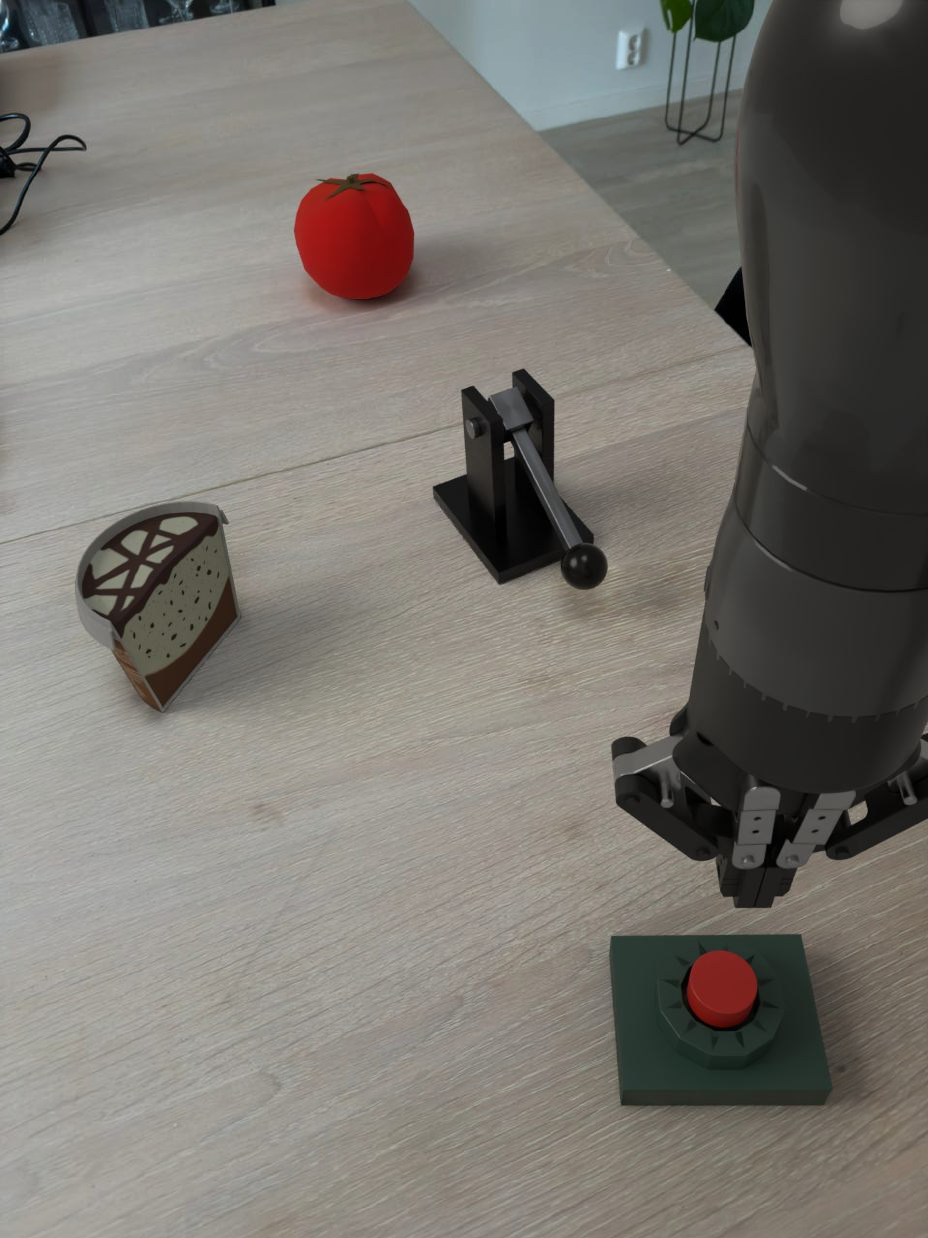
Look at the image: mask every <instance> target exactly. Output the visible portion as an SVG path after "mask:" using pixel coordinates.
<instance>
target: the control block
mask: <svg viewBox="0 0 928 1238" xmlns="http://www.w3.org/2000/svg"><path fill="white" fill-rule="evenodd" d="M802 937H803V936H802V934H801V933H779V934H778V933H773V934H770V933H769V934H765V933H764V934H763V933H762V934H674V935H673V934H670V935H667V934H665V935H663V934H661V935H660V934H659V935H657V934H655V935H653V934H652V935H649V934H648V935H611V936H610V942H609V953H608V956H609V957H608V958H609V969H610V982H611V983H610V984H611V994H612V1009H613V1022H614V1023H613V1024H614V1034H615V1035H614V1036H615V1048H616V1049H615V1050H616V1060H617V1061H616V1062H617V1076H618V1086H619V1099H620V1100H619V1101H620V1105H621V1106H824V1105H826V1103H827V1101H828V1099H829V1097H830V1096H831V1093H832V1091H833V1089H834V1088H833V1083H832V1079H831V1074H830V1069H829V1064H828V1059H827V1053H826V1049H825V1043H824V1041H823V1034H822V1029H821V1025H820V1019H819V1015H818V1014H819V1013H818V1009H817V1004H816V999H815V995H814V990H813V985H812V980H811V975H810V970H809V966H808V961H807V957H806V951H805V946H804V941H803V938H802ZM712 951H728V952H731V953H734V954H736V955H738V956H740V957H741V958H742V959H744V960H745V961H746V962H747V963H748V964H749V965H750V967H751V968H752V970H753V971H754V973H755V976H756V979H757V994H756V997H755V1000H754V1003H753V1006H752V1009H751V1012H750V1013H749V1015H748V1017H747V1018H746V1019H745V1020H744V1021H743V1022H741V1023H740V1024H738V1025H736V1026H733V1027H728V1028H720V1027H715V1026H712V1025H709V1024H707V1023H705V1022H704V1021H702V1020H701V1019H700V1018H699V1017H698V1016H697V1015H696V1014H695V1013H694V1012H693V1010H692V1009H691V1007H690V1005H689V1002H688V998H687V987H688V982H689V978H690V973H691V969H692V967H693V965H694V963H695V962H696V961H697V959H698V958H700V957H701V956H702V955H704V954H706V953H708V952H712Z"/></svg>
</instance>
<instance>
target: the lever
mask: <svg viewBox="0 0 928 1238" xmlns="http://www.w3.org/2000/svg"><path fill="white" fill-rule="evenodd" d="M486 400H487V401H488V402H489V403H490V405H491V406H492V407H493V408H494V409H495V410H496V411H497V412H498V413H499V415H500V416H501V417H502V418H503V431H504V444H506V443H510V444H511V446H512V448H513V451H514V450H515V452H516V454H517V456H518V458H519V460H520V462H521V464H522V466H523V468H524V470H525V472H526V474H527V476H528V478H529V480H530V482H531V484H532V486H533V488H534V490H535V492H536V494H537V496H538V498H539V500H540V502H541V504H542V506H543V508H544V510H545V512H546V514H547V516H548V518H549V520H550V521H551V523H552V525H553V527H554V529H555V531H556V533H557V535H558V537H559V539H560V541H561V543H562V545H563V547H564V549H565V551H566V552H565V553H564V555H563V557H562V559H561V560H560V574H561V576H562V578H563V580H564V581H565V582H566V584H567V585H569V587H572V588H574V589H575V590H579V591H589V590H592V589H594V588H597V587H598V586H600V585H601V584H602V582H604V580H605V579H606V576H607V574H608V570H609V564H608V563H609V562H608V559H607V556H606V554H605V552H604V551H603V550H602V549H601V548H600V547H598V546H597V545H595V544H594V545H593V544H590V543H583V541H582V539H581V537H580V535H579V533H578V531H577V529H576V527H575V525H574V523H573V521H572V519H571V518H570V516H569V514H568V512H567V510H566V508H565V506H564V504H563V502H562V500H561V498H562V497H561V495H560V494H559V491H558V489H557V488H556V486H555V483H554V484H553V482H552V480H551V478H550V476H549V474H548V472H547V470H546V468H545V466H544V464H543V462H542V460H541V458H540V456H539V454H538V452H537V450H536V448H535V446H534V445H533V443H532V441H531V439H530V437H529V435H528V431H529V429H530V427H531V425H532V423H533V421H534V419H533V417H532V415H531V413H530V411H529V409H528V407H527V405H526V403H525V401H524V399H523V397H522V395H521V393H520V391H519V389H518V388H517V386H516V387H513V388H512V387H511V388H508V389H505V390H502V391H500V392H496V393H493V394H491V395H489V396H488V398H487V399H486ZM560 497H561V498H560Z"/></svg>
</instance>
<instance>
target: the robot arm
mask: <svg viewBox="0 0 928 1238" xmlns="http://www.w3.org/2000/svg"><path fill="white" fill-rule="evenodd" d="M745 74H746V75H745V78H744V81H743V87H742V91H741V96H740V100H739V105H738V110H737V119H736V129H735V137H734V148H733V149H734V150H733V187H734V188H733V189H734V191H733V192H734V204H735V205H734V206H735V215H736V225H737V234H738V245H739V255H740V263H741V273H742V274H741V275H742V283H743V292H744V293H743V295H744V301H745V302H744V303H745V315H746V320H747V327H748V332H749V338H750V342H751V349H752V352H753V358H754V365H755V372H754V376H753V379H752V384H751V389H750V391H749V392H750V393H749V397H748V402H747V407H746V412H745V417H744V422H743V423H744V425H743V429H742V435H741V440H740V447H739V452H738V458H737V464H736V469H735V475H734V482H733V486H732V490H731V494H730V497H729V500H728V502H727V505H726V507H725V510H724V512H723V515H722V520H721V521H720V524H719V528H718V531H717V534H716V537H715V542H714V547H713V552H712V557H711V559H710V562H709V565H707V568H706V572H705V577H704V584H703V592H704V606H703V611H702V618H701V623H700V629H699V635H698V641H697V647H696V652H695V658H694V664H693V665H694V666H693V671H692V678H691V683H690V691H689V696H688V700H687V702H686V703H685V705H684V706H683V707H682V708H681V709H680V710H679V711H677V713H675V715H674V716H673V717H672V719H671V721H670V724H669V728H668V734H669V736H667V737H664V738H662V739H659V740H657V741H655V742H653V743H651V744H649V745H648V744H646V743H645V742H644V741H642V739H640V738H638V737H635V736H621V737H618V738H616V739H614V740H613V741H612V743H611V744H610V751H611V752H610V753H611V761H612V774H613V784H614V795H615V804H616V805H617V806H618V807H619V808H620V809H621V810H623V811H624V812H626V814H628V815H629V816H631V817H632V818H634V819H635V820H636V821H638V822H639V823H640V824H642V825H644V826H645V827H646V828H648V830H651V832H653V833H655V835H657V836H658V837H660V838H661V839H662V840H664V841H665V842H667V843H669V845H671V846H672V847H673V848H674V849H676V850H677V851H679V852H681V853H682V854H683V855H685V856H686V857H687V858H689V859H690V860H692V861H695V862H709V861H712V860H714V859H715V867H716V873H717V881H718V886H719V887H718V888H719V892H720V894H721V896H722V897H723V898H732V901H733V907H734V908H735V909H771V908H772V907H773V904H774V900H775V898H776V897H778V898H779V897H784V896H785V895H786V894H787V893H789V892H790V890H791V887H792V884H793V882H794V879H795V876H796V873H797V870H798V868H801V867H804V866H805V865H807V863H808V862H809V860H810V858H811V856H812V854H815V853H820V852H825V856H826V858H828V859H829V860H833V861H846V860H848V859H852V858H854V857H856V856H858V855H860V854H862V853H864V852H865V851H868V850H869V849H871V848H873V847H875V846H877V845H879V844H881V843H883V842H886V841H887V840H889V839H891V838H893V837H895V836H896V835H899V834H901V833H903V832H905V831H908V829H911V828H912V827H916V825H918V824H921V823H923V822H924V821H927V820H928V732H927V733H924V731H925V729H926V727H927V724H928V0H772V1H771V3H770V6H769V8H768V10H767V12H766V14H765V17H764V19H763V22H762V24H761V26H760V30H759V32H758V35H757V38H756V41H755V43H754V46H753V50H752V54H751V57H750V60H749V62H748V67H747V71H746V73H745ZM712 800H713V801H714V802H716V804H713V803H712ZM863 802H865V805H866V809H867V811H866V815H865V816H864V817H863V818H862V819H860V820H858V821H856V822H854V823H853V824H852V821H851V818H850V813H849V810H850V809H852V808H854V807H856V806H858V805H860V804H862V803H863Z"/></svg>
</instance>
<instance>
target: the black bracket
mask: <svg viewBox="0 0 928 1238" xmlns="http://www.w3.org/2000/svg"><path fill="white" fill-rule="evenodd" d="M511 379H512V380H511V386H512V387H511V388H513V387H516V386H517V388H518V389H519V391H520V393H521V395H522V397H523V399H524V401H525V403H526V405H527V407H528V409H529V411H530V413H531V415H532V417H533V419H534V421H533V423H532V425H531V427H530V429H529V431H528V435H529V437H530V439H531V441H532V443H533V445H534V446H535V448H536V450H537V452H538V454H539V456H540V458H541V460H542V462H543V464H544V466H545V468H546V470H547V472H548V474H549V476H550V478H551V480H552V482H553V484H554V485H555V411H556V408H555V406H556V403H555V402H556V401H555V399H554V398H553V396H552V395H550V393H548V391H546V389H545V388H544V387H543V386H541V384H540V383H539V382H538V381H537V380H536V379H535V378H534V377H533V376H532V375H531V374H530V373H529V371H528V370H526V368H524V367H523V368H520V369H517V370H514V371H512V372H511ZM460 396H461V397H460V398H461V410H462V425H463V439H464V442H463V443H464V454H465V455H464V456H465V470H466V473H465V474H463V475H459V476H457V477H455V478H451V479H449V480H447V481H443V482H441V483H438V484H436V485H432V497H433V499H434V501H435V502H436V503H437V504H438V506H439V507H440V508H441V510H442V511H443V512H444V514H445V515H446V516H447V518H448V519H449V521H450V522H451V523H452V525H453V526H454V527H455V528H456V530H457V531H458V532H459V534H460V535H461V536H462V538H463V539H464V540H465V542H466V544H468V545H469V547H470V549H471V550H473V552H474V553H475V555H476V556H477V558H478V559H479V560H480V562H481V563H482V564H483V566H484V567H485V568H486V569H487V571H488V572H489V573H490V575H491V576H492V578H493V579H494V580H495V581H496V583H497V585H502V584H505V583H507V582H510V581H512V580H514V579H517V578H519V577H522V576H524V575H527V574H530V573H532V572H534V571H537V570H539V569H542V568H544V567H546V566H549V565H551V564H553V563H554V564H555V563H556V562H559V561H561V560H562V557H563V555H564V553H565V552H566V551H565V549H564V547H563V545H562V543H561V541H560V539H559V537H558V535H557V533H556V531H555V529H554V527H553V525H552V523H551V521H550V520H549V518H548V516H547V514H546V512H545V510H544V508H543V506H542V504H541V502H540V500H539V498H538V496H537V494H536V492H535V490H534V488H533V486H532V484H531V482H530V480H529V478H528V476H527V474H526V472H525V470H524V468H523V466H522V464H521V462H520V460H519V458H518V456H517V454H516V452H515V450H514V449H513V456H510V457H508V458H505V443H504V431H503V418H502V417H501V416H500V415H499V413H498V412H497V411H496V410H495V409H494V408H493V407H492V406H491V405H490V403H489V402H488V401H487V400H488V399H486V397H484V396H483V394H482V393H481V392H480V391H479V390H478V389H477V388H476V386H475V385H471V386H468V387H465V388H461V389H460ZM560 498H561V500H562V502H563V504H564V506H565V508H566V510H567V512H568V514H569V516H570V518H571V519H572V521H573V523H574V525H575V527H576V529H577V531H578V533H579V535H580V537H581V539H582V541H583V543H590V544H593V545H595V544H594V543H595V534H594V533H593V532H592V531H591V529H590V528H589V527H588V526H587V525H586V524H585V523H584V522H583V521H582V520H581V518H580V517H579V516H578V514H577V513H575V511H574V510H573V509H572V508H571V507H570V506H569V504H567V503H566V501H565V500H564V499H563V498H562V496H560Z"/></svg>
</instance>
